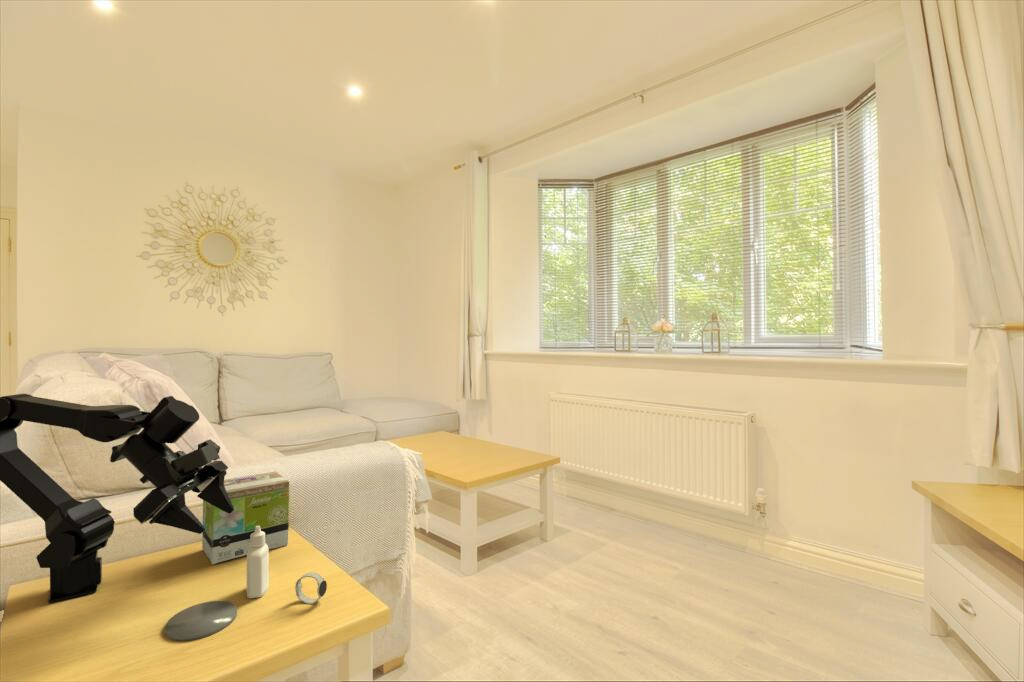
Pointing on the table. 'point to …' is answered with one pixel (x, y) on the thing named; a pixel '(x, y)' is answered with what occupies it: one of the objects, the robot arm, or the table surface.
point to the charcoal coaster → (200, 620)
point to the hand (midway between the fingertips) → (218, 521)
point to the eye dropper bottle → (257, 565)
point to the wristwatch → (321, 589)
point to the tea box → (247, 516)
